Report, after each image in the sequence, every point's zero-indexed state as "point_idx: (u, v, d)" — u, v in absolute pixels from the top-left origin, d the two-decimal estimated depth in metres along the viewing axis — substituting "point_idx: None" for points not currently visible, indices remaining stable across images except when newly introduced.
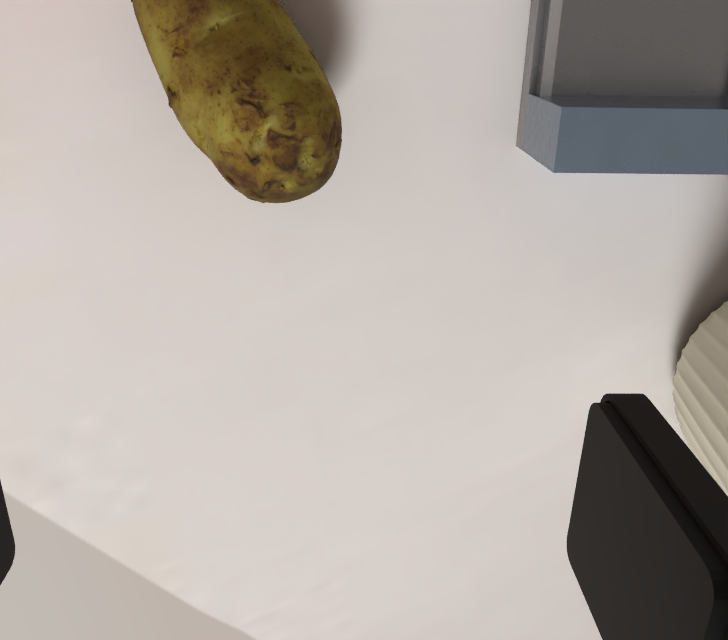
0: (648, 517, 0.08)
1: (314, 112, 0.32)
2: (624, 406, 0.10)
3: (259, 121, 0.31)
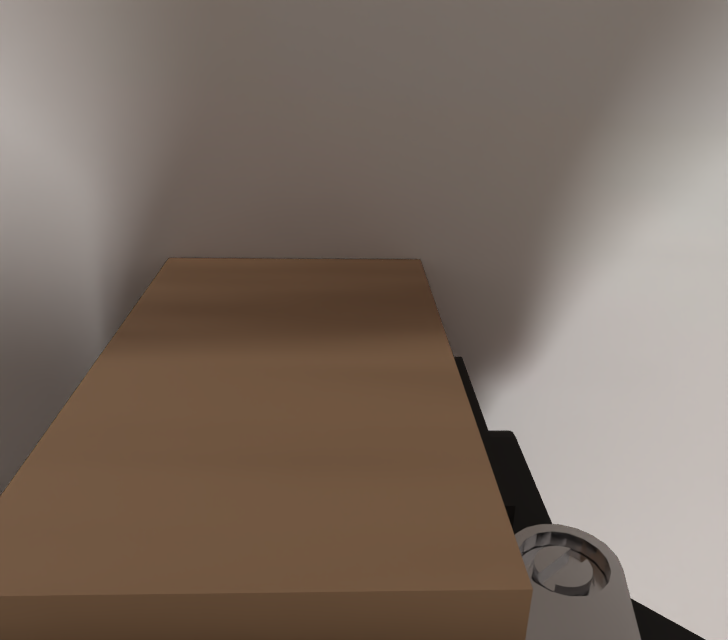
0: None
1: None
2: None
3: None
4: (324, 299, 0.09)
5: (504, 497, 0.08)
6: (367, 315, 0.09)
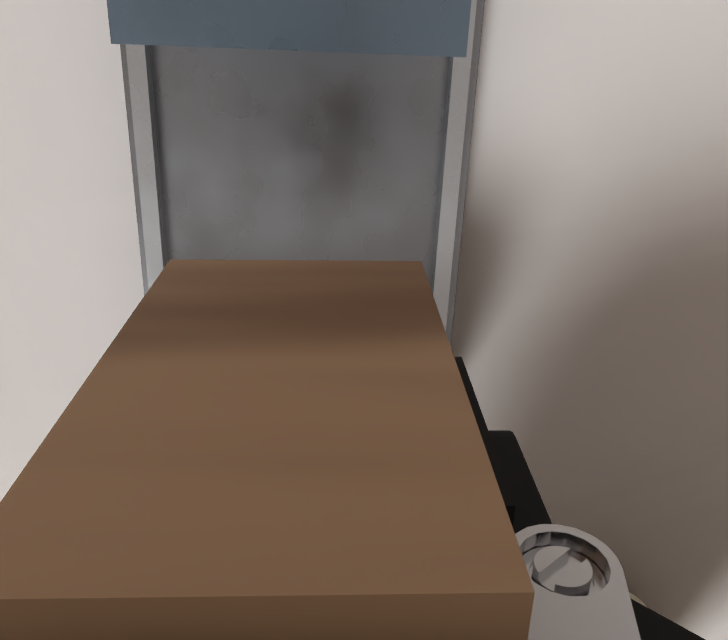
0: None
1: None
2: None
3: None
4: (325, 301, 0.09)
5: (504, 498, 0.08)
6: (368, 316, 0.09)
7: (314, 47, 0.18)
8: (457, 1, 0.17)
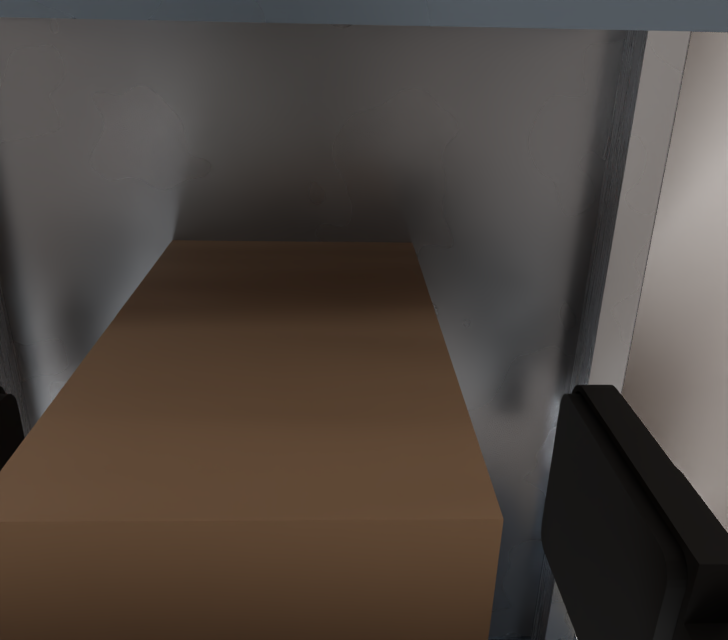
0: (611, 503, 0.09)
1: None
2: (593, 396, 0.10)
3: None
4: (320, 277, 0.10)
5: None
6: (361, 291, 0.10)
7: (328, 9, 0.05)
8: None
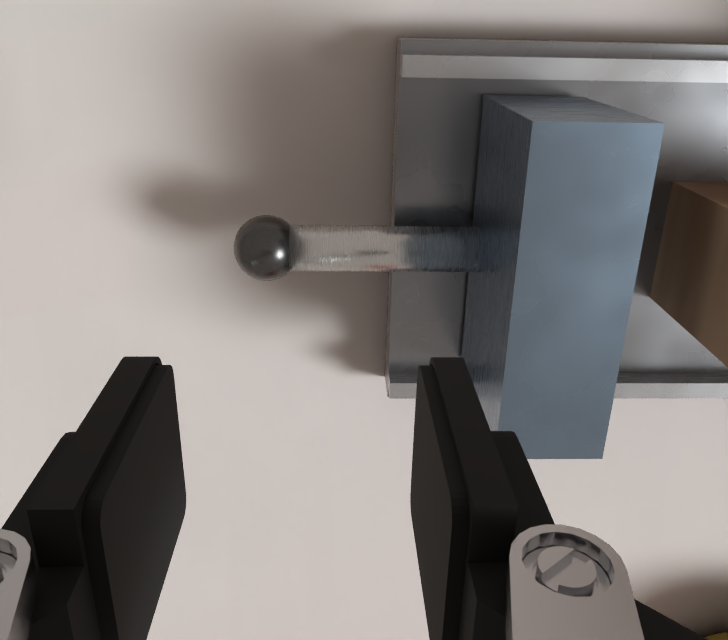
0: (434, 461, 0.09)
1: None
2: (439, 367, 0.11)
3: None
4: (688, 242, 0.21)
5: (507, 497, 0.08)
6: (700, 229, 0.20)
7: (630, 285, 0.17)
8: (605, 138, 0.16)
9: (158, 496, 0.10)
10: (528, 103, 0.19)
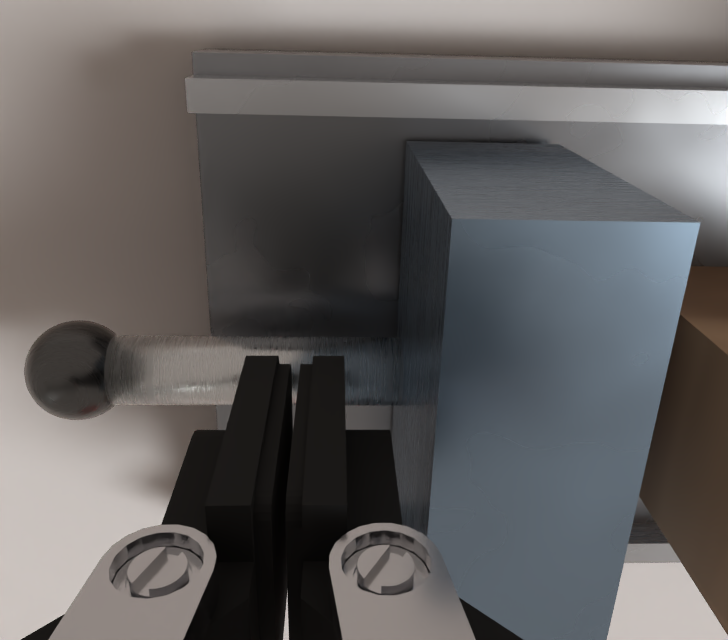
0: None
1: None
2: (317, 365, 0.11)
3: None
4: None
5: (339, 496, 0.08)
6: None
7: (632, 487, 0.10)
8: (589, 248, 0.08)
9: None
10: (467, 162, 0.11)
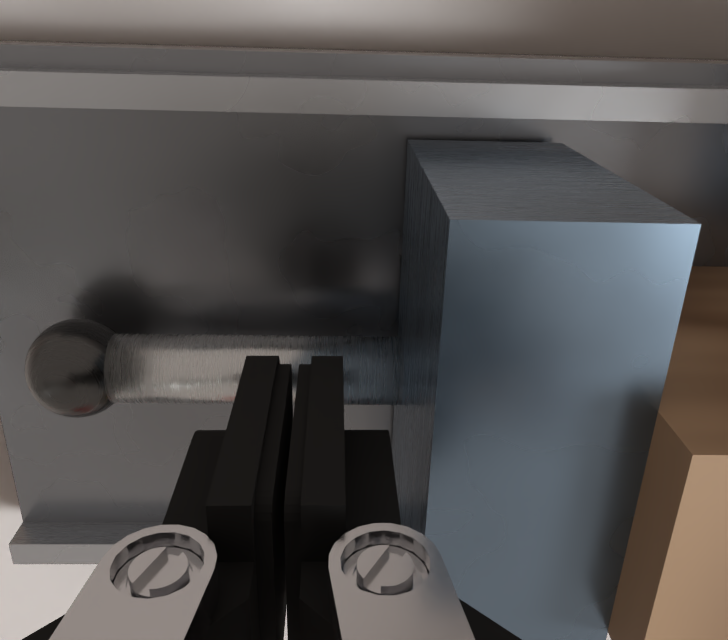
0: None
1: None
2: (315, 365, 0.11)
3: None
4: None
5: (337, 496, 0.08)
6: None
7: (632, 490, 0.10)
8: (588, 249, 0.08)
9: None
10: (468, 161, 0.11)
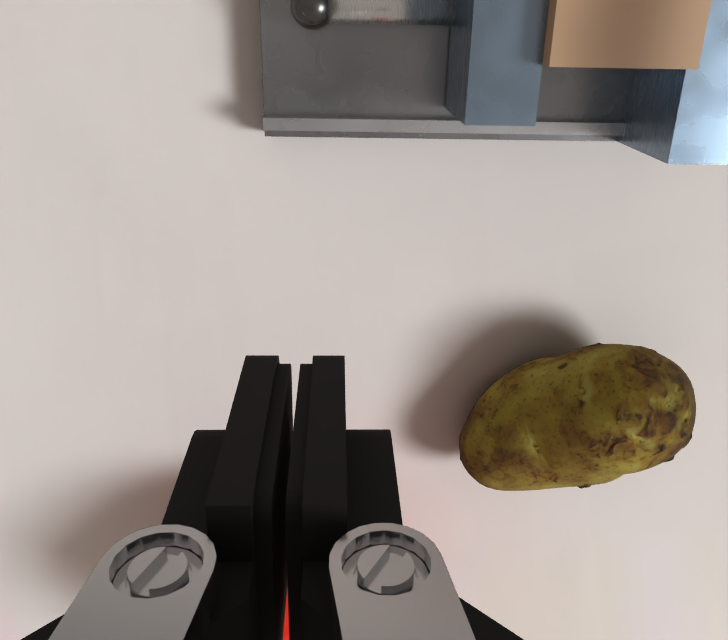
0: None
1: (626, 391, 0.35)
2: (317, 365, 0.11)
3: (629, 442, 0.35)
4: None
5: (339, 496, 0.08)
6: None
7: None
8: None
9: None
10: None
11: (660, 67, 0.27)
